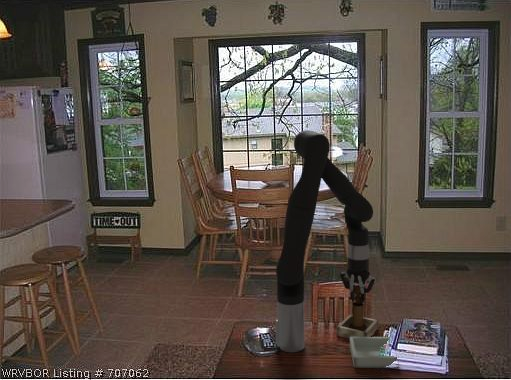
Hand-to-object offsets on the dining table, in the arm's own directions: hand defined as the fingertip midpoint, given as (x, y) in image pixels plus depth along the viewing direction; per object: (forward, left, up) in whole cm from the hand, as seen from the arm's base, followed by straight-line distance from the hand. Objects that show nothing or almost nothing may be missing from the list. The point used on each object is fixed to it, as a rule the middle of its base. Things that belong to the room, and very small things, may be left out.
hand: (358, 301), depth 189 cm
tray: (+11, -14, -12) cm, 22 cm away
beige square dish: (0, 0, -12) cm, 12 cm away
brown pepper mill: (0, 0, -12) cm, 12 cm away
